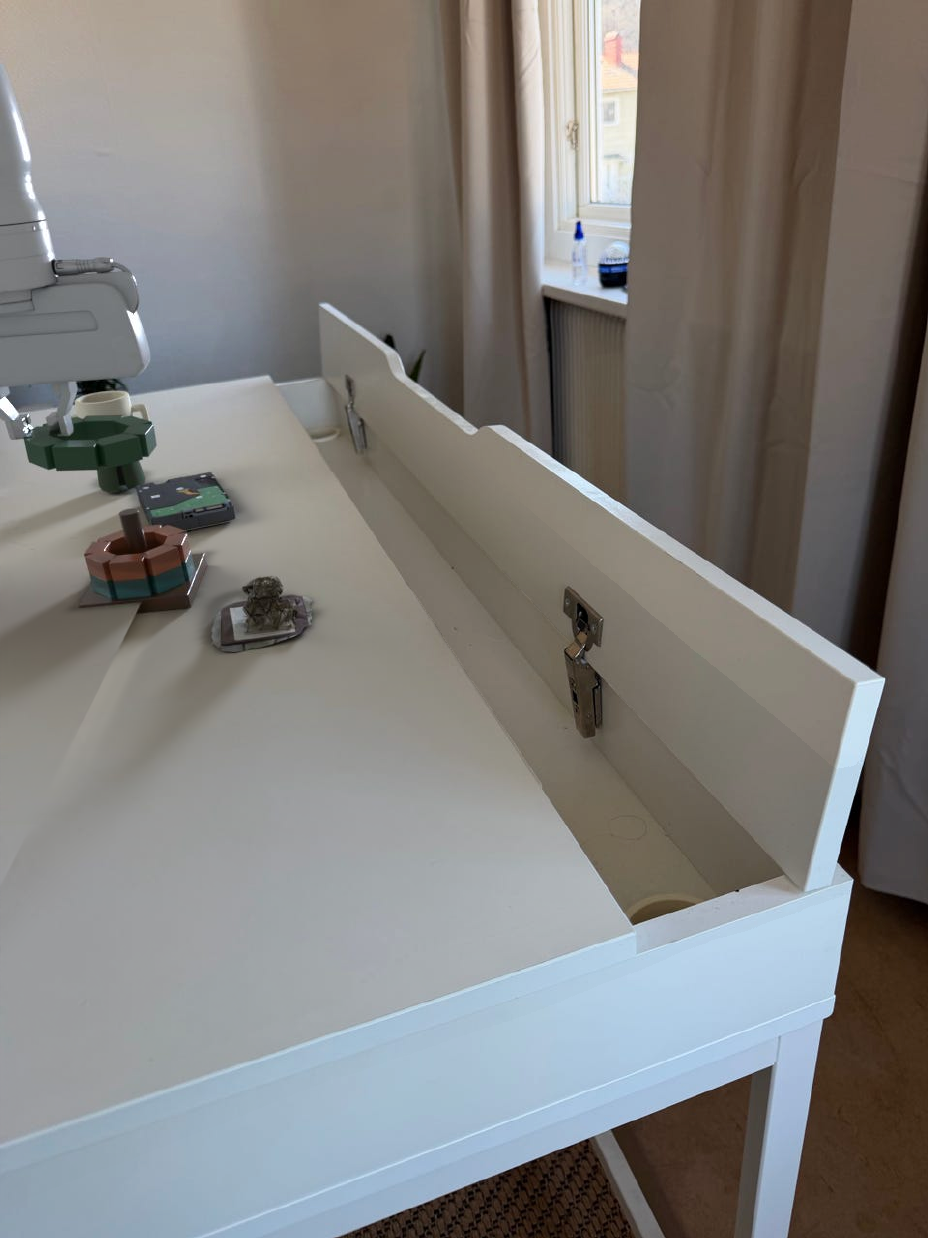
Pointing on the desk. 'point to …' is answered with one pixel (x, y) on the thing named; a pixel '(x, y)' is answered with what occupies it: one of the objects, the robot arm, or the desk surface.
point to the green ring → (92, 443)
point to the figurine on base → (261, 617)
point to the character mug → (113, 406)
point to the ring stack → (143, 567)
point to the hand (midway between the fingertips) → (42, 436)
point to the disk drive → (186, 502)
